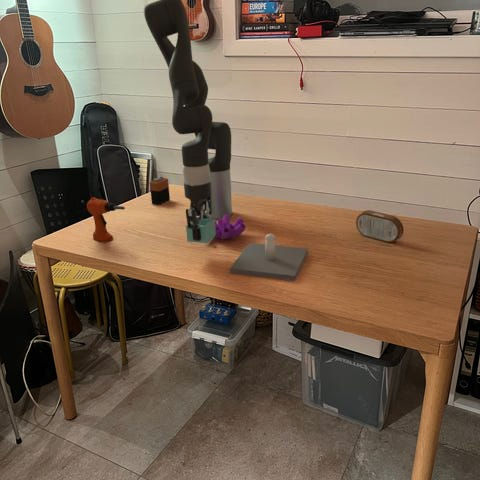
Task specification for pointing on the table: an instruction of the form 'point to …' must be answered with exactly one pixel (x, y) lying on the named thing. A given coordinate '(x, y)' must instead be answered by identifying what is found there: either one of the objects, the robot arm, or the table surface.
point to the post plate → (270, 260)
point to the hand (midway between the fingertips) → (201, 235)
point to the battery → (159, 190)
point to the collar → (203, 231)
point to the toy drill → (101, 217)
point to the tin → (379, 226)
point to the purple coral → (228, 227)
